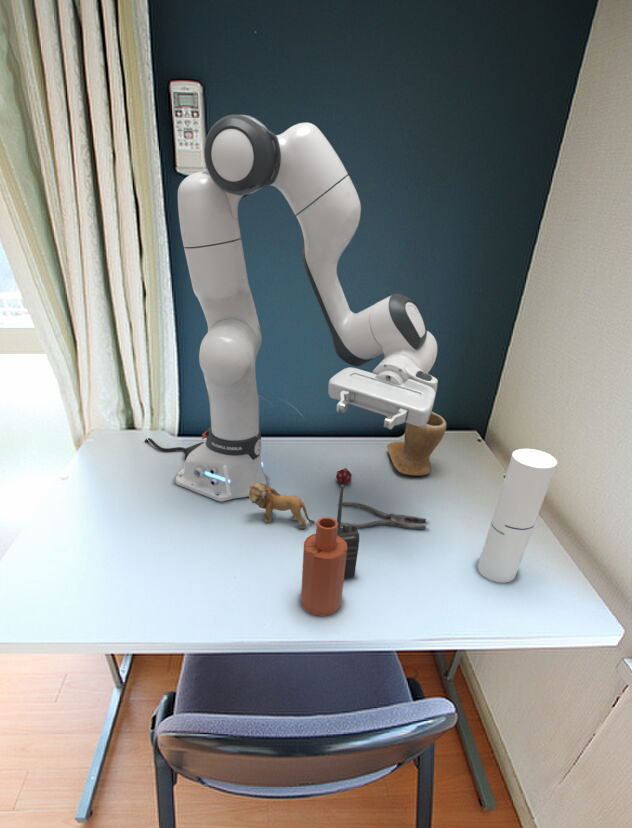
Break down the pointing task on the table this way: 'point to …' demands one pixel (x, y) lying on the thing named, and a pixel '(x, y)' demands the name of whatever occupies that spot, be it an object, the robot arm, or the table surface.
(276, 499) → the lion figurine
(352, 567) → the walkie-talkie
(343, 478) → the dice
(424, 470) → the stone cup
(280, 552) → the table surface
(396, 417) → the robot arm
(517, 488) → the cylindrical container
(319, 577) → the bottle
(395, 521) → the pliers
